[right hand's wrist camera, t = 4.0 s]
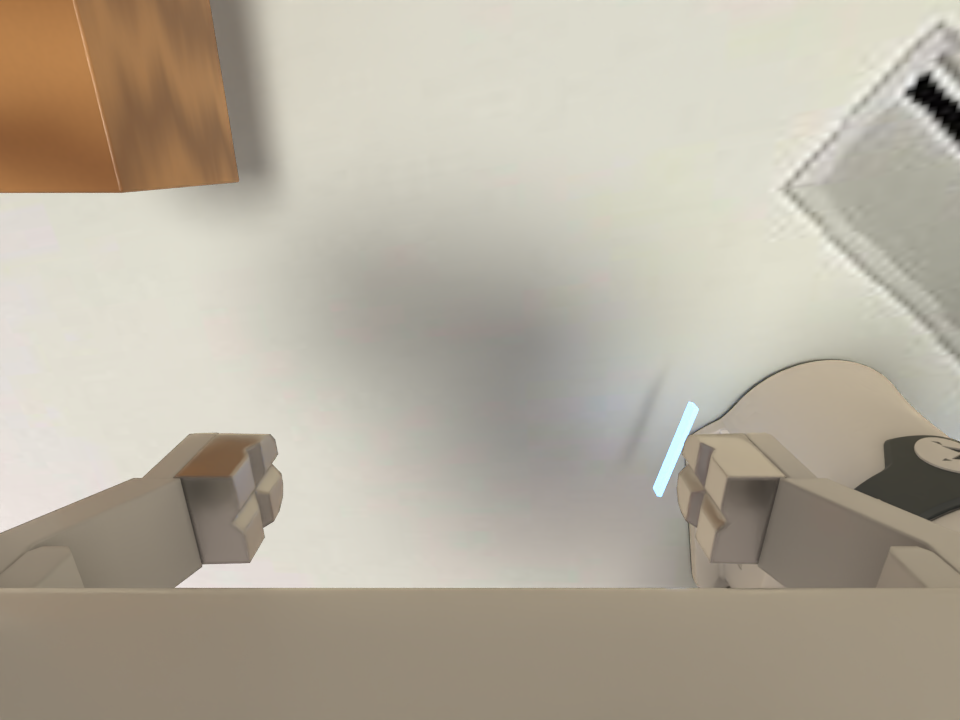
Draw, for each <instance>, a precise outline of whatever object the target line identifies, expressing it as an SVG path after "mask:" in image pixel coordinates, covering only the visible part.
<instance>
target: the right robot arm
mask: <svg viewBox="0 0 960 720" xmlns="http://www.w3.org/2000/svg"><path fill="white" fill-rule="evenodd" d="M698 410H699V409H698V408H697V407H696V405H695V404H694V403H692V402H688V405H687V407H686V410H685V412H684V414H683V417H682V419H681V422H680V424H679V427H678V429H677V431H676V434H675V436H674V439H673V441H672V443H671V446H670V448H669V451H668V453H667V455H666V458H665V460H664V463H663V465H662V467H661V470H660V472H659V475H658V477H657V479H656V482H655V484H654V487H653V489H654V491H655V493H656V495H657V496H659V497H662V494H663V492H664V490H665V487H666V485H667V483H668V480H669V478H670V476H671V473H672V471H673V469H674V466H675V464H676V462H677V459H678V457H679V455H680V452H681V450H682V448H683V451H682V455H683V457H684V458H685V460H686V466H685V467H684V468H683V469H682V471H681V472H680V473H679V474H678V482H677V497H678V504H679V507H680V510H681V513H682V515H683V517H684V518H685V520H686V521H687V522H688V523H689V530H690V548H691V566H692V576H693V580H694V581H695V583H696V584H697V586H698V587H699V588H175V587H176V586H177V585H179V584H180V583H181V582H183V581H184V580H185V579H187V578H188V577H189V576H190V575H192V574H193V573H194V572H196V571H197V570H198V569H200V568H201V567H202V564H230V563H250V562H251V560H252V558H253V557H254V555H255V553H256V552H257V550H258V548H259V546H260V545H261V543H262V541H263V539H264V538H265V536H264V530H263V528H264V527H265V526H267V525H269V524H270V523H272V522H273V521H274V520H275V518H276V516H277V515H278V513H279V511H280V507H281V503H282V498H283V481H282V474H281V473H280V472H279V471H278V469H277V468H276V467H275V466H274V465H273V464H272V463H273V461H274V460H275V458H276V457H277V455H278V451H277V446H276V441H275V439H274V438H273V436H272V435H271V434H237V433H220V434H219V433H194V434H189V435H188V436H187V437H186V438H185V439H184V440H183V441H181V442H180V443H179V444H178V445H177V446H176V447H175V448H174V449H173V450H172V451H171V452H170V453H169V454H167V455H166V456H165V457H164V458H163V459H162V460H161V461H160V462H159V463H158V464H157V465H156V466H154V467H153V468H152V469H151V470H150V471H149V472H148V473H147V474H146V475H145V476H144V477H143V478H133V479H130V480H128V481H125V482H123V483H120V484H118V485H116V486H113V487H111V488H108V489H106V490H104V491H101V492H99V493H96V494H94V495H91V496H89V497H87V498H84V499H82V500H79V501H77V502H74V503H72V504H70V505H67V506H65V507H62V508H60V509H58V510H55V511H53V512H50V513H48V514H45V515H43V516H41V517H38V518H36V519H33V520H31V521H28V522H26V523H24V524H21V525H19V526H16V527H14V528H12V529H9V530H7V531H4V532H2V533H0V720H960V442H959V441H957V440H954V439H951V438H950V437H948V436H947V435H946V434H944V433H943V432H942V431H940V430H939V429H938V428H936V427H935V426H934V425H933V424H932V423H930V422H929V421H928V420H927V419H925V418H924V417H923V416H922V415H921V414H920V413H919V412H917V411H916V410H915V409H914V408H913V407H912V406H911V405H910V404H909V403H908V402H907V401H906V400H905V399H904V398H903V396H902V395H901V394H900V393H899V392H898V390H897V389H896V388H895V387H894V385H893V384H892V383H891V382H890V381H889V380H888V379H887V378H886V377H885V376H883V375H882V374H880V373H879V372H877V371H876V370H874V369H872V368H870V367H868V366H865V365H862V364H859V363H855V362H850V361H843V360H821V361H814V362H808V363H804V364H800V365H797V366H794V367H791V368H788V369H785V370H783V371H781V372H779V373H777V374H775V375H773V376H771V377H769V378H767V379H766V380H764V381H763V382H761V383H759V384H758V385H757V386H755V387H754V388H753V389H751V390H750V391H749V392H748V393H747V394H746V395H745V396H743V397H742V398H741V399H740V400H739V401H738V403H737V404H736V405H735V406H734V407H733V408H732V409H731V410H730V411H729V412H728V413H727V414H726V415H725V416H723V417H722V418H721V419H719V420H717V421H715V422H713V423H711V424H709V425H707V426H705V427H704V428H702V429H700V430H698V431H697V432H695V433H694V434H693V435H688V433H689V431H690V429H691V426H692V424H693V422H694V419H695V417H696V415H697V412H698Z"/></svg>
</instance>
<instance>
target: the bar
mask: <svg viewBox="0 0 960 720" xmlns="http://www.w3.org/2000/svg"><path fill="white" fill-rule="evenodd" d="M235 182H239V177H238V171H237V165H236V159H235V153H234V147H233V140H232V134H231V128H230V122H229V116H228V110H227V104H226V98H225V92H224V86H223V80H222V74H221V68H220V62H219V56H218V50H217V44H216V38H215V31H214V25H213V19H212V13H211V7H210V1H209V0H0V193H125V192H136V191H147V190H158V189H169V188H180V187H191V186H202V185H213V184H224V183H235Z"/></svg>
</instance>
